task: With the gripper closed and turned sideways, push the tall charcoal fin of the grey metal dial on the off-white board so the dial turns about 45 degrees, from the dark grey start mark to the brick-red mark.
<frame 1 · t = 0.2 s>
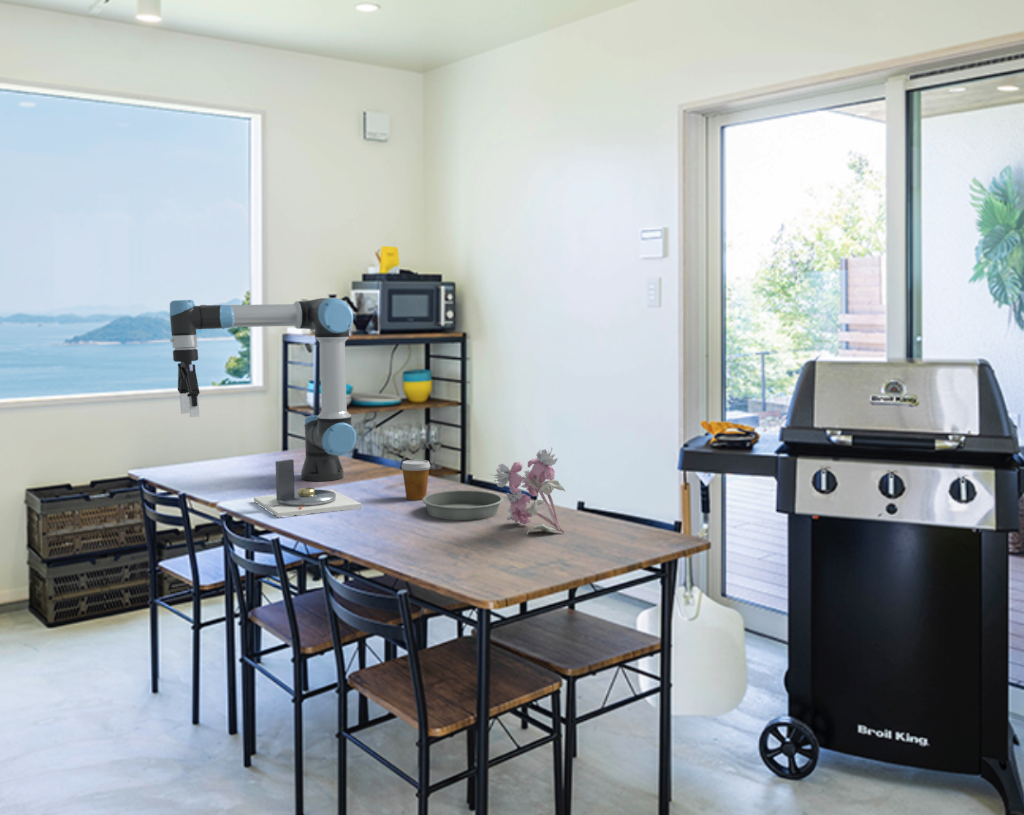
hand: (190, 415, 301), 27 cm above the table, tool pointing down, fingers open, 13 cm apart
disposable coffee cup: (416, 498, 305), on the table
dial board: (306, 505, 295), on the table
cake pan: (462, 513, 286), on the table
flower: (528, 529, 265), on the table
dial: (304, 478, 293), point 8 cm above the table, hinge at 0.0°
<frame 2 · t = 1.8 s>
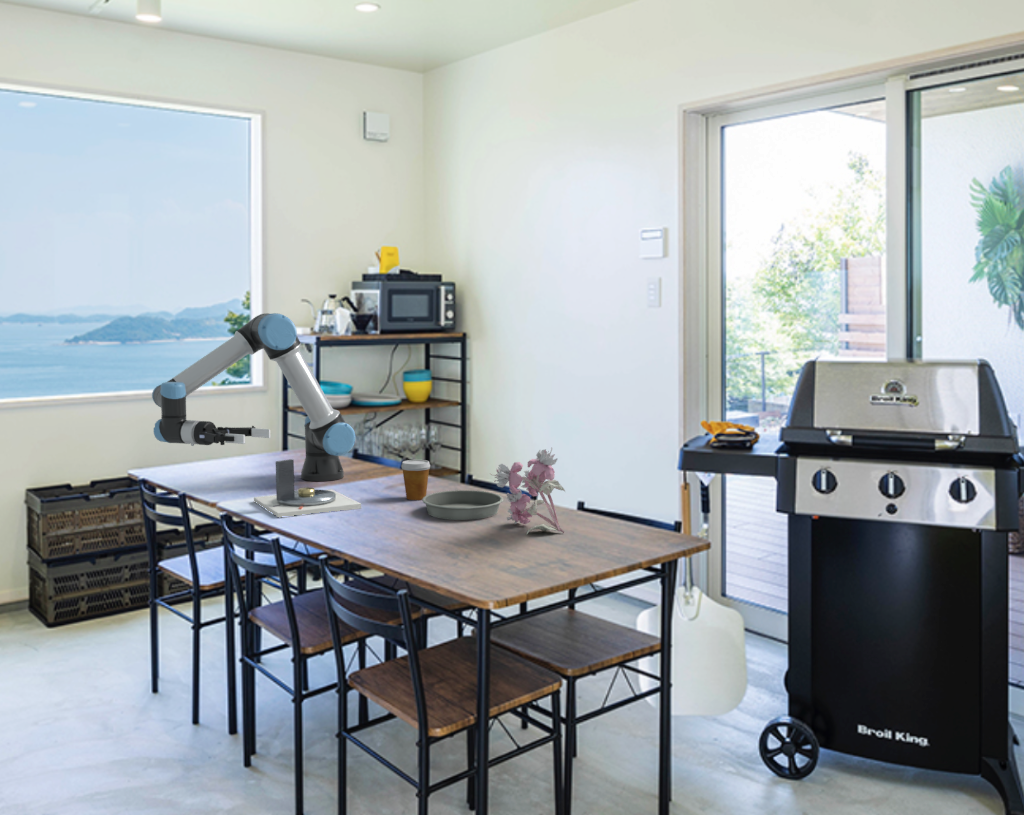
hand: (257, 436, 290), 22 cm above the table, tool horizontal, fingers open, 13 cm apart
nothing on the table moved.
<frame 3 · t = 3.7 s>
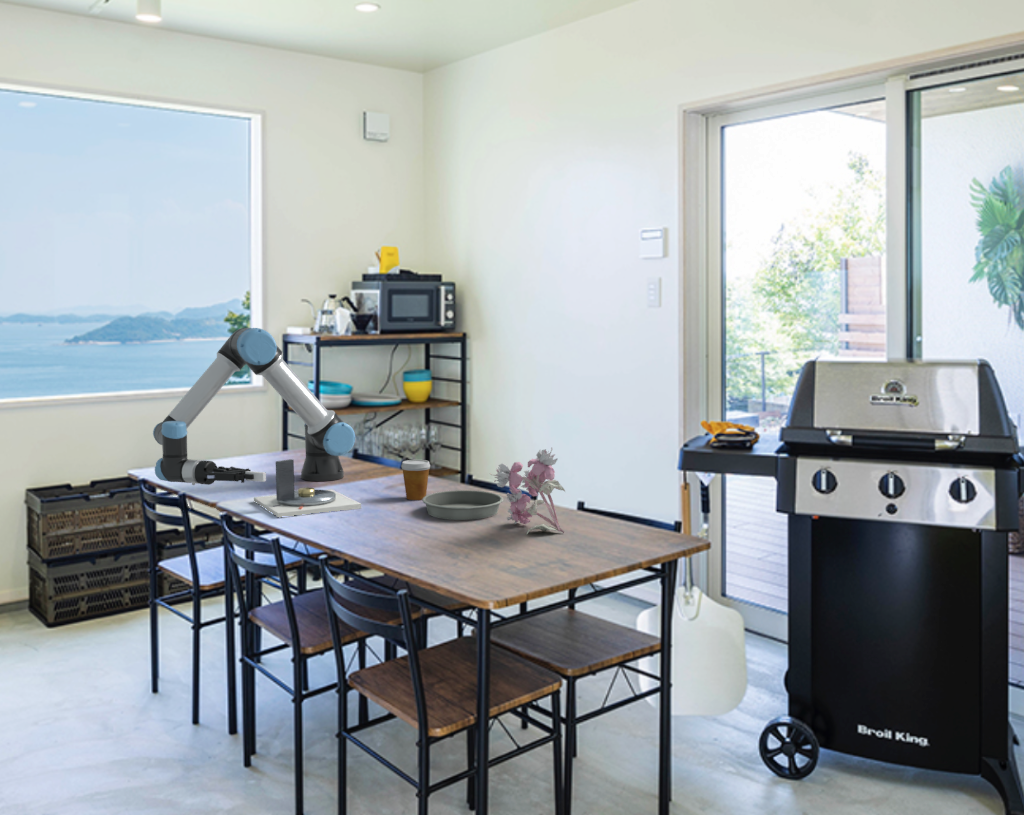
hand: (264, 477, 290), 10 cm above the table, tool horizontal, fingers closed
nothing on the table moved.
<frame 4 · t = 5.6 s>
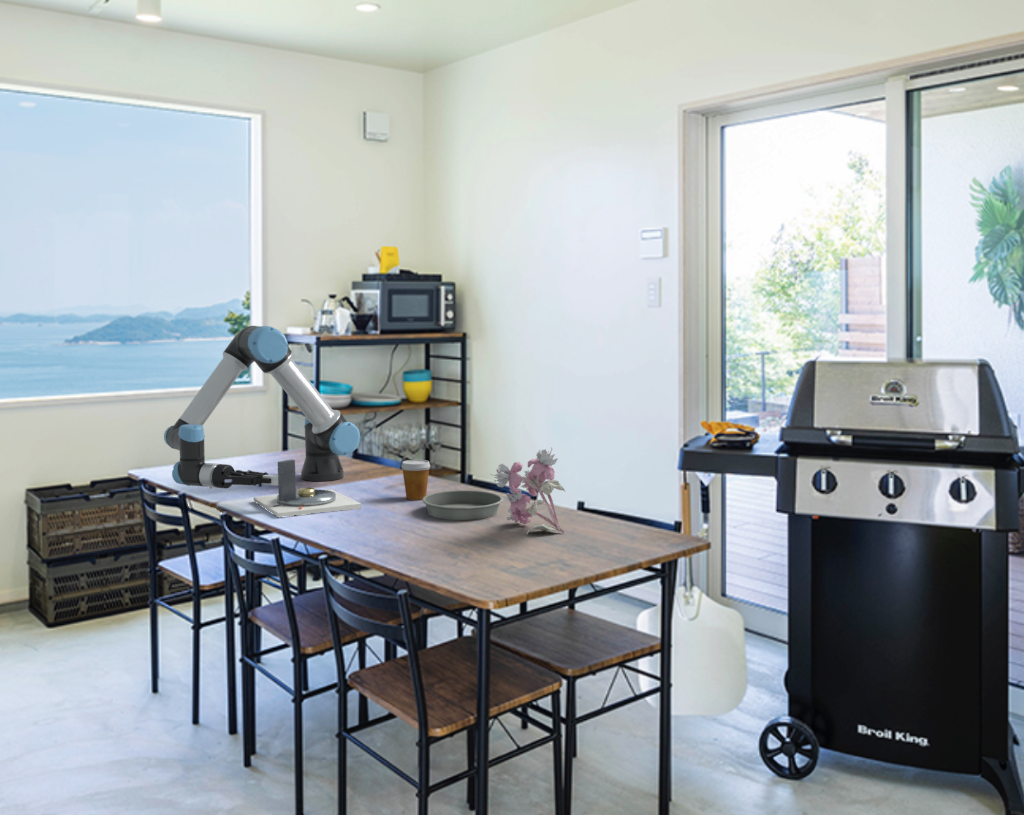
hand: (282, 481, 288), 9 cm above the table, tool horizontal, fingers closed
dial: (304, 478, 293), point 8 cm above the table, hinge at 6.2°, touching gripper
everything else where it was.
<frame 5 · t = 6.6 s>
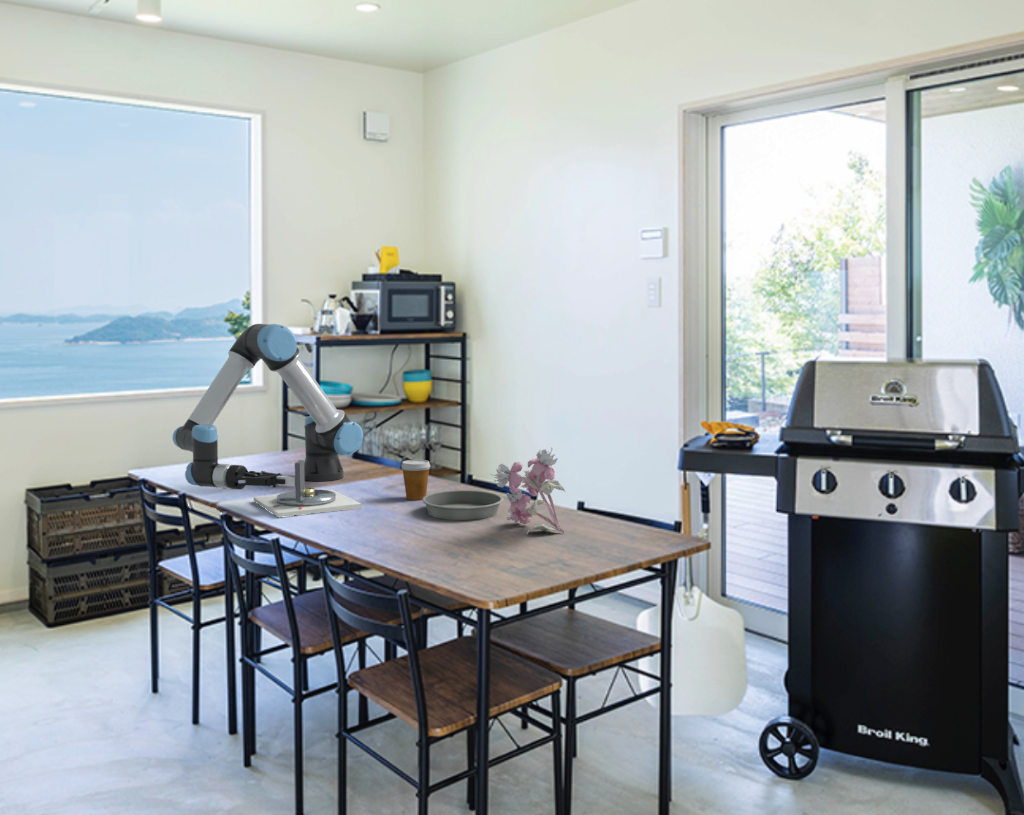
hand: (296, 481, 286), 9 cm above the table, tool horizontal, fingers closed
dial: (305, 479, 293), point 8 cm above the table, hinge at 40.5°, touching gripper
everything else where it was.
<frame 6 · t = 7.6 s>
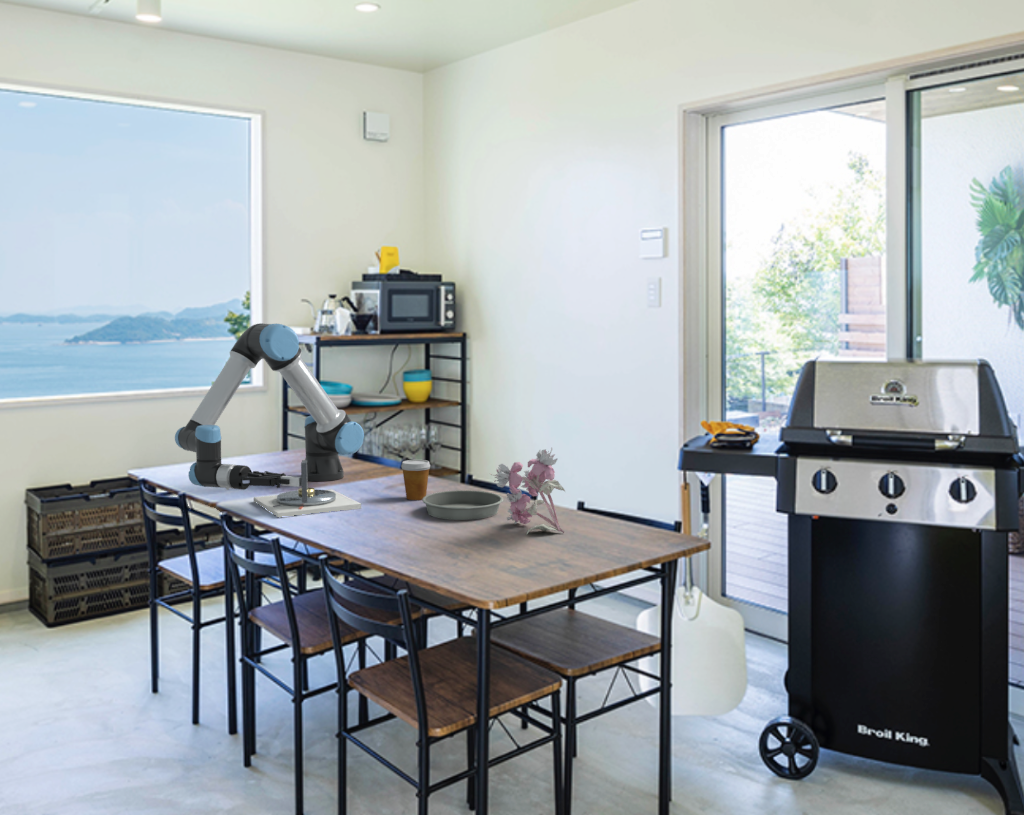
hand: (300, 482, 286), 9 cm above the table, tool horizontal, fingers closed
dial: (305, 479, 293), point 9 cm above the table, hinge at 50.8°, touching gripper
everything else where it was.
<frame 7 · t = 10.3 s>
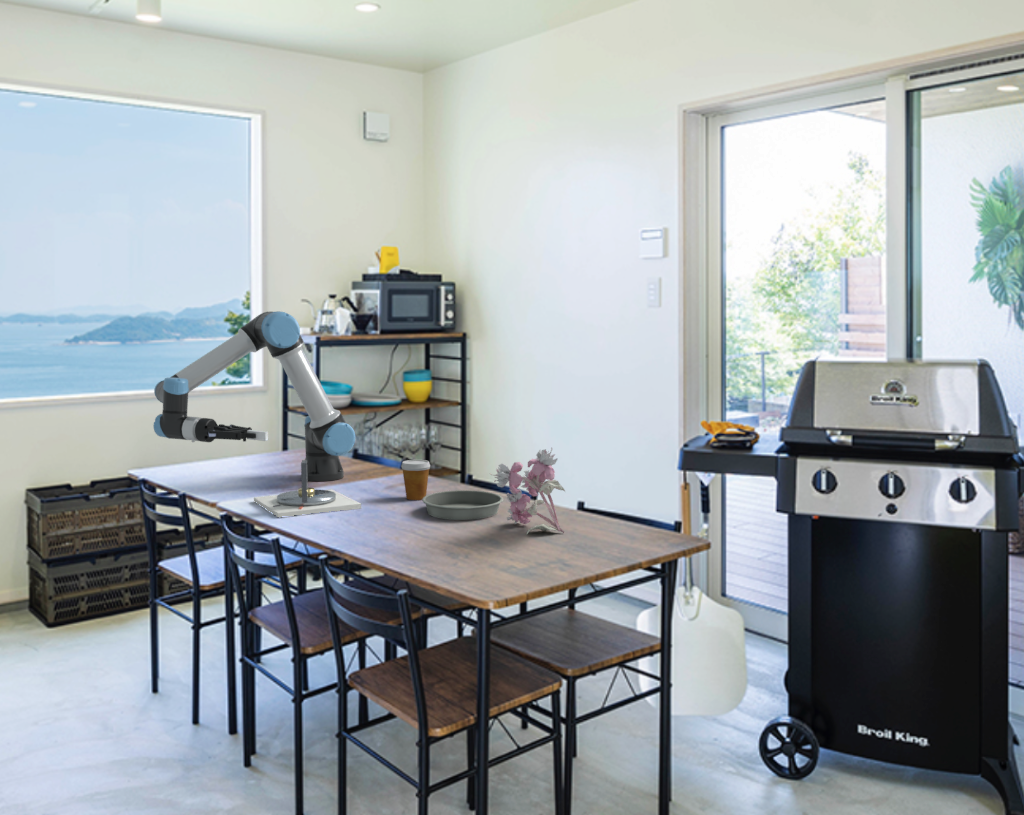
hand: (266, 436, 291), 22 cm above the table, tool horizontal, fingers closed
dial: (305, 479, 293), point 8 cm above the table, hinge at 50.8°
everything else where it was.
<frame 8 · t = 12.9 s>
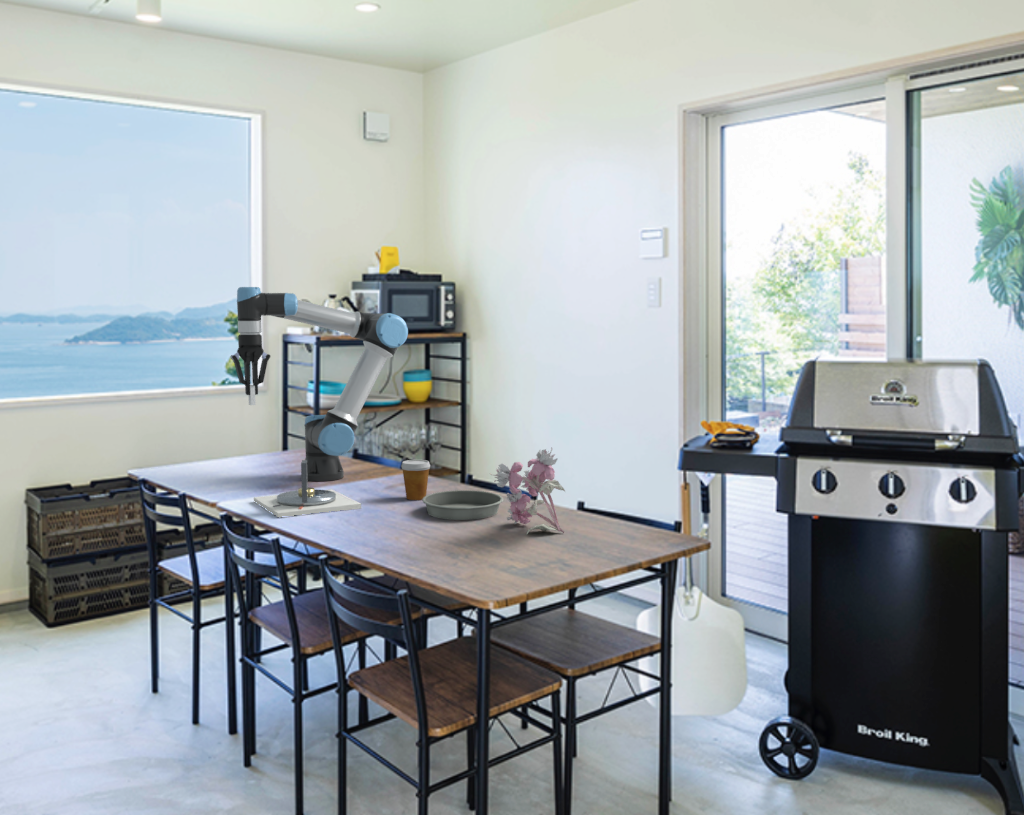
hand: (252, 404, 313), 29 cm above the table, tool pointing down, fingers closed
nothing on the table moved.
at the end: dial at +51° (first picture: +0°) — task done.
